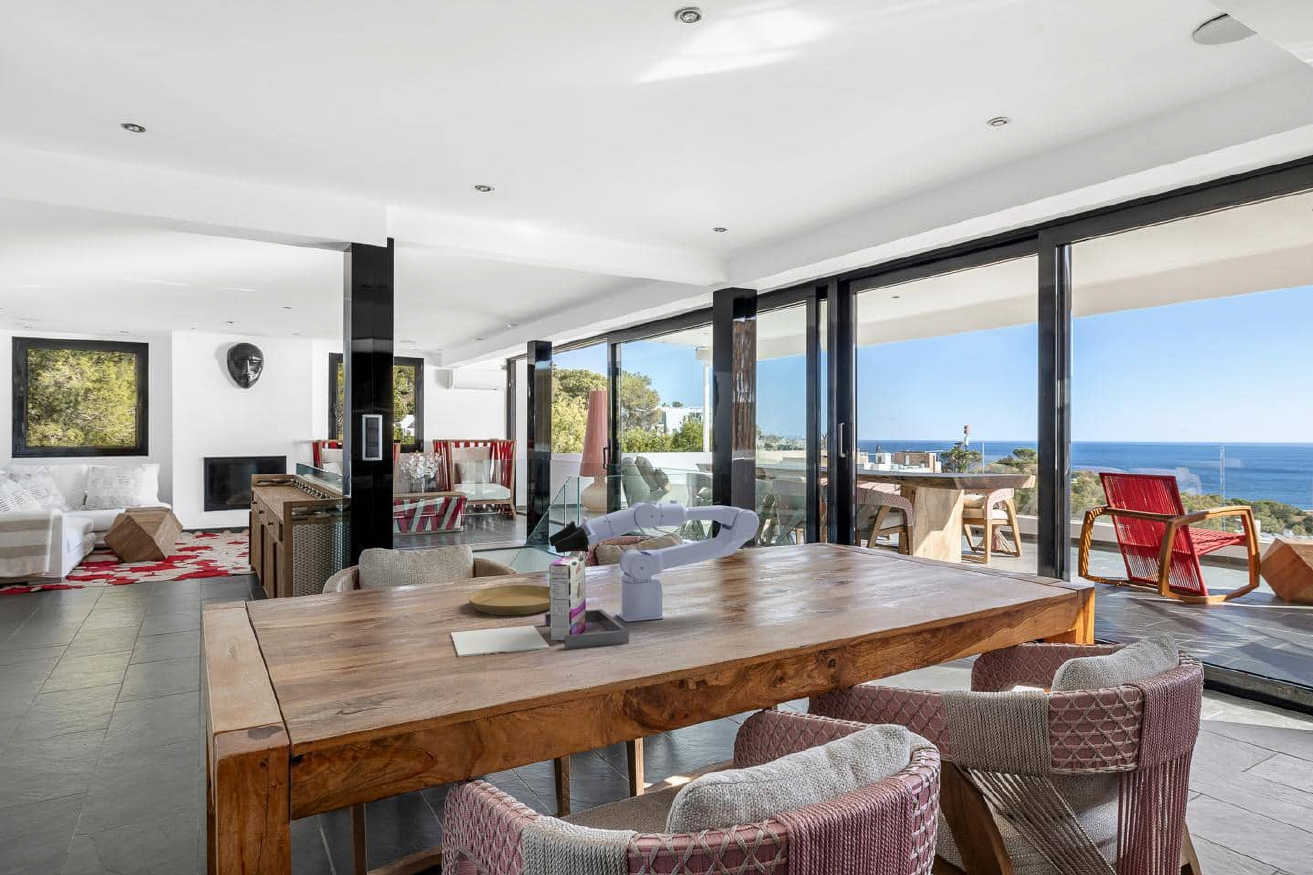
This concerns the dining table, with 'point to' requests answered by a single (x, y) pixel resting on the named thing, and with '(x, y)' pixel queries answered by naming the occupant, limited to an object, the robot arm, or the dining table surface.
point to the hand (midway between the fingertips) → (552, 545)
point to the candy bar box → (567, 597)
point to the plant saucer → (511, 599)
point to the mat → (497, 640)
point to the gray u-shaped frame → (613, 636)
